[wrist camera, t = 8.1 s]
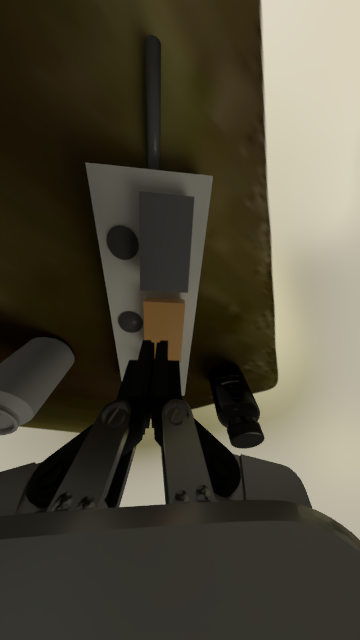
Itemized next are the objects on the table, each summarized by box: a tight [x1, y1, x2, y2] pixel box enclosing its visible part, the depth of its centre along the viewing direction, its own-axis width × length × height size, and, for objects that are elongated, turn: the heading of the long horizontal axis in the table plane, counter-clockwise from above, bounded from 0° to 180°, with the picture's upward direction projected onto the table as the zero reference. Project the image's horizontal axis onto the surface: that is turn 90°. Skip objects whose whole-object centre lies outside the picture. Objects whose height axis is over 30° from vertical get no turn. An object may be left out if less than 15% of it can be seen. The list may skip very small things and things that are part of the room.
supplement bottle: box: [209, 364, 264, 448], centre depth 27 cm, size 7×7×12 cm
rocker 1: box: [139, 191, 194, 293], centre depth 15 cm, size 8×5×2 cm, turn 176°
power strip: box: [85, 35, 213, 396], centre depth 21 cm, size 39×11×5 cm, turn 176°
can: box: [0, 337, 74, 435], centre depth 22 cm, size 8×8×12 cm
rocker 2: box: [143, 298, 185, 363], centre depth 19 cm, size 8×5×2 cm, turn 176°
